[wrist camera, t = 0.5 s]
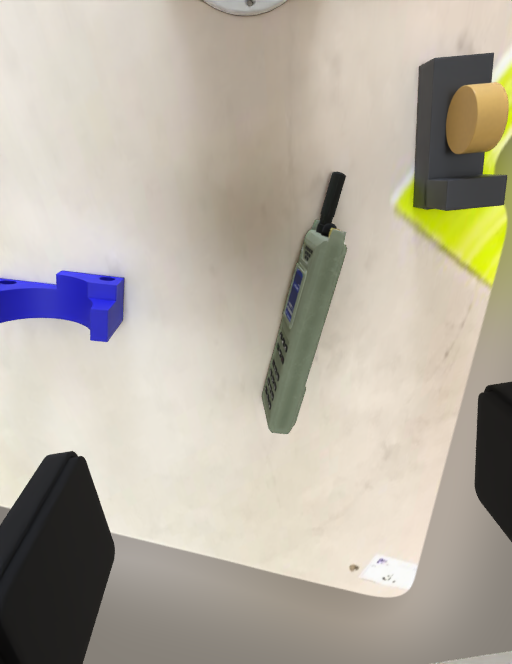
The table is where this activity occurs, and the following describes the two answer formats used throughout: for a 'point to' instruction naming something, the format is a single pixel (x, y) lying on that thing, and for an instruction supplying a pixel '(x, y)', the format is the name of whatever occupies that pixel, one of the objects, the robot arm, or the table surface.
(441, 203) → the tape dispenser
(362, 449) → the table surface
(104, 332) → the blue semicircular clamp bracket
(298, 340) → the handheld radio
